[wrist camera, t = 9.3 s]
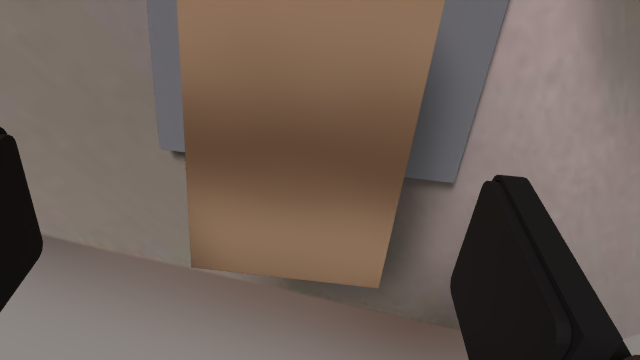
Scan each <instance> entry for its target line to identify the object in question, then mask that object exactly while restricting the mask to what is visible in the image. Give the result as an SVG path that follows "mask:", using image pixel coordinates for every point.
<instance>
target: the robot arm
mask: <svg viewBox="0 0 640 360" xmlns="http://www.w3.org/2000/svg"><path fill="white" fill-rule="evenodd" d="M42 247H43V241H42V236H41V232H40V229H39V225H38V221H37V218H36V214H35V210H34V207H33V203H32V199H31V196H30V192H29V188H28V185H27V181H26V177H25V173H24V170H23V166H22V162H21V159H20V155H19V151H18V148H17V144H16V141H15V139H14V138H13V137H12V136H10V135H7V133H6V131H5V130H4V129H3V128H1V127H0V312H1V310H2V309H3V308H4V306H5V305H6V303H7V302H8V301H9V299H10V298H11V296H12V295H13V294H14V292H15V291H16V289H17V288H18V287H19V285H20V284H21V282H22V281H23V280H24V278H25V277H26V275H27V274H28V273H29V271H30V270H31V268H32V267H33V266H34V264H35V263H36V261H37V260H38V258H39V257H40V255H41V252H42ZM450 288H451V295H452V299H453V302H454V306H455V310H456V313H457V317H458V321H459V325H460V328H461V332H462V336H463V339H464V343H465V347H466V351H467V354H468V358H469V360H640V355H633V356H632V355H631V354H630V352H629V350H628V349H627V347H626V345H625V343H624V342H623V339H622V337H621V335H620V334H619V332H618V330H617V328H616V327H615V325H614V323H613V322H612V320H611V318H610V317H609V315H608V313H607V312H606V310H605V308H604V307H603V305H602V303H601V301H600V300H599V298H598V296H597V295H596V293H595V291H594V290H593V288H592V286H591V285H590V283H589V281H588V280H587V278H586V276H585V275H584V273H583V271H582V269H581V268H580V266H579V264H578V263H577V261H576V259H575V258H574V256H573V254H572V253H571V251H570V249H569V248H568V246H567V244H566V243H565V241H564V239H563V237H562V236H561V234H560V232H559V231H558V229H557V227H556V226H555V224H554V222H553V221H552V219H551V217H550V216H549V214H548V212H547V211H546V209H545V207H544V205H543V204H542V202H541V200H540V199H539V197H538V195H537V194H536V192H535V190H534V189H533V187H532V185H531V184H530V182H529V180H528V179H527V178H524V177H516V176H505V175H496V176H495V177H494V178H493V180H492V181H486V182H485V183H484V184H483V186H482V188H481V191H480V194H479V197H478V200H477V203H476V206H475V209H474V212H473V215H472V218H471V221H470V224H469V227H468V229H467V232H466V235H465V238H464V241H463V244H462V247H461V250H460V253H459V256H458V259H457V262H456V265H455V268H454V270H453V273H452V277H451V285H450Z"/></svg>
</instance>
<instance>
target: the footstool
mask: <svg viewBox="0 0 640 360" xmlns="http://www.w3.org/2000/svg"><path fill="white" fill-rule="evenodd" d="M444 3H445V0H177V16H178V34H179V52H180V70H181V88H182V106H183V125H184V143H185V161H186V179H187V197H188V215H189V233H190V251H191V267H193V268H201V269H210V270H219V271H228V272H237V273H246V274H255V275H264V276H273V277H282V278H291V279H300V280H308V281H317V282H326V283H335V284H344V285H353V286H362V287H371V288H379V284H380V280H381V276H382V271H383V267H384V263H385V258H386V254H387V250H388V245H389V241H390V237H391V232H392V228H393V224H394V219H395V215H396V211H397V206H398V202H399V198H400V193H401V189H402V185H403V180H404V176H405V172H406V167H407V163H408V159H409V154H410V150H411V146H412V141H413V137H414V133H415V128H416V124H417V120H418V115H419V111H420V107H421V102H422V98H423V94H424V89H425V85H426V81H427V77H428V72H429V68H430V64H431V59H432V55H433V51H434V46H435V42H436V38H437V33H438V29H439V25H440V20H441V16H442V12H443V7H444Z"/></svg>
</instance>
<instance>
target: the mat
mask: <svg viewBox="0 0 640 360" xmlns="http://www.w3.org/2000/svg"><path fill="white" fill-rule="evenodd" d="M508 2H509V0H445V3H444V7H443V12H442V16H441V20H440V25H439V29H438V33H437V38H436V42H435V46H434V51H433V55H432V59H431V64H430V68H429V72H428V77H427V81H426V85H425V89H424V94H423V98H422V102H421V107H420V111H419V115H418V120H417V124H416V128H415V133H414V137H413V141H412V146H411V150H410V154H409V159H408V163H407V167H406V172H405V176H404V177H405V178H413V179H422V180H431V181H440V182H448V183H454V182H455V179H456V175H457V172H458V169H459V165H460V162H461V159H462V155H463V152H464V149H465V145H466V142H467V139H468V135H469V132H470V129H471V125H472V122H473V119H474V115H475V112H476V109H477V105H478V102H479V99H480V95H481V92H482V89H483V85H484V82H485V79H486V75H487V72H488V69H489V65H490V62H491V59H492V55H493V52H494V49H495V45H496V42H497V39H498V35H499V32H500V29H501V25H502V22H503V19H504V15H505V12H506V9H507V5H508ZM147 9H148V20H149V32H150V43H151V55H152V66H153V78H154V89H155V101H156V112H157V124H158V135H159V147H160V149H161V150H170V151H178V152H185V143H184V125H183V106H182V88H181V70H180V52H179V34H178V16H177V0H147Z"/></svg>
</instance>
